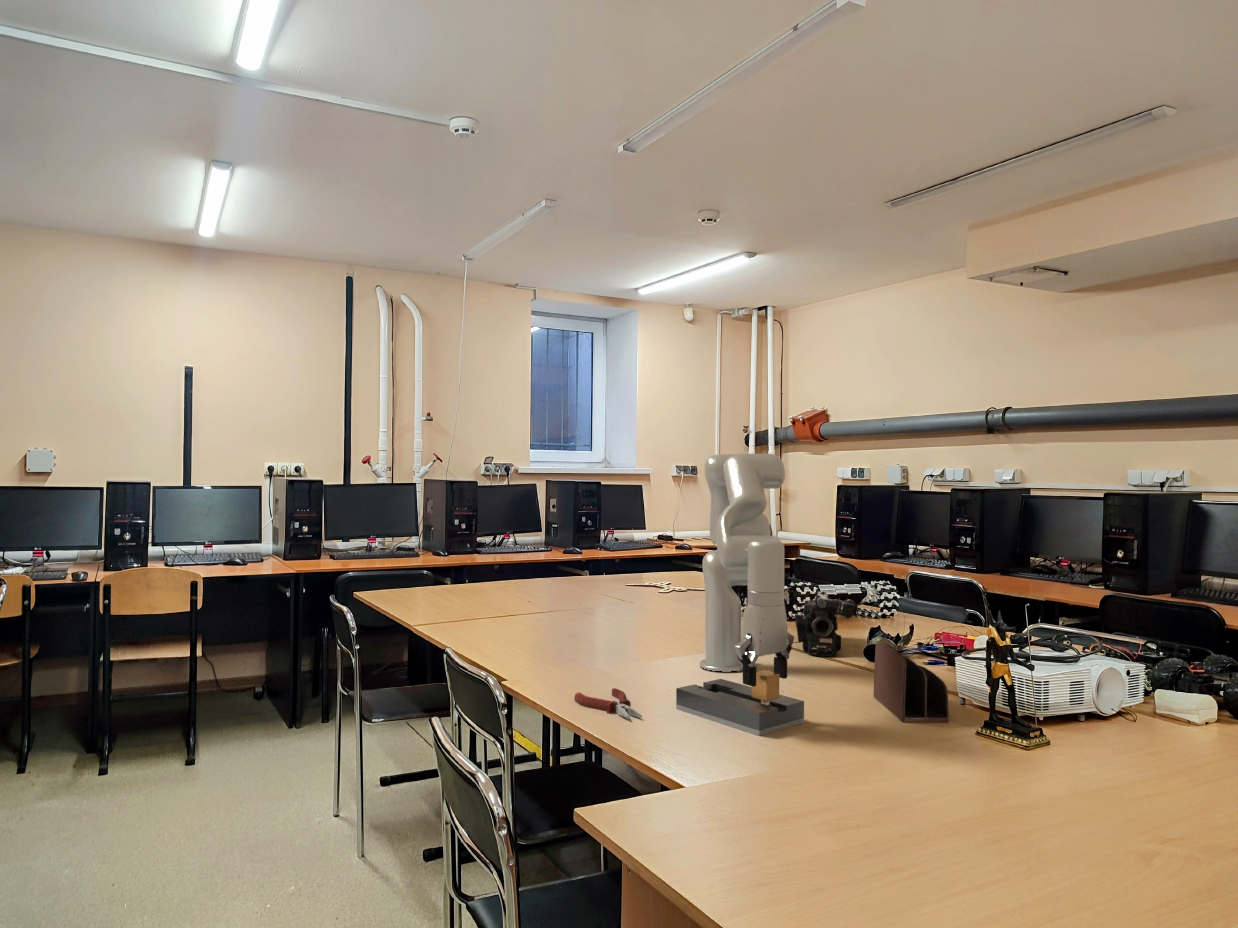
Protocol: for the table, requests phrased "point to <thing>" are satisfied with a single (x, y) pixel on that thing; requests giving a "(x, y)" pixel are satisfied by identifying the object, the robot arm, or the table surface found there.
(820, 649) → the movie camera
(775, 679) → the peg
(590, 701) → the pliers
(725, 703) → the keyhole track
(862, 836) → the table surface
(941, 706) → the letter holder
